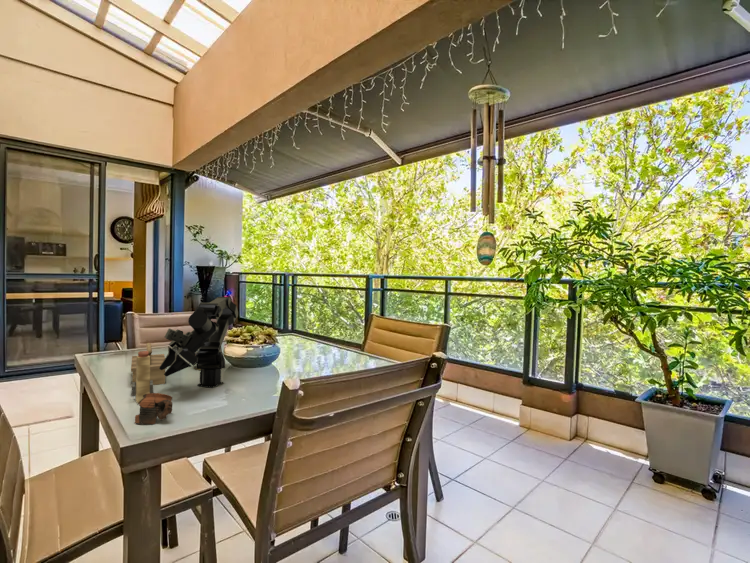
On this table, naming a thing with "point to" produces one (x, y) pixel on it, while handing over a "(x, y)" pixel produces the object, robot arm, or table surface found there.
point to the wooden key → (142, 375)
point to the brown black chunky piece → (154, 408)
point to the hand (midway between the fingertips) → (162, 372)
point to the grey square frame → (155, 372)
